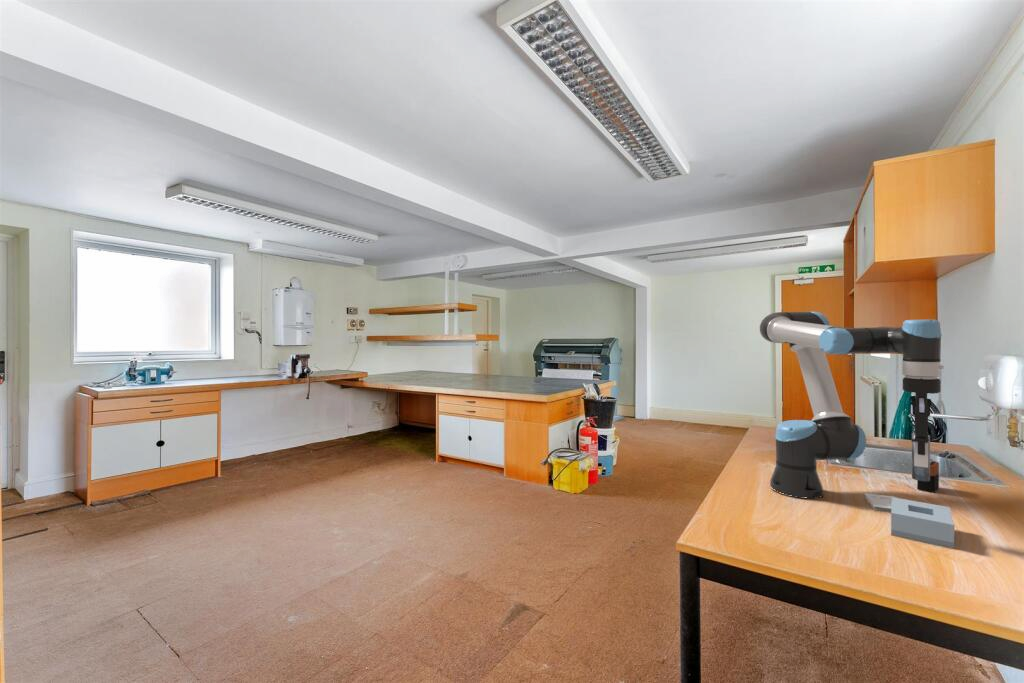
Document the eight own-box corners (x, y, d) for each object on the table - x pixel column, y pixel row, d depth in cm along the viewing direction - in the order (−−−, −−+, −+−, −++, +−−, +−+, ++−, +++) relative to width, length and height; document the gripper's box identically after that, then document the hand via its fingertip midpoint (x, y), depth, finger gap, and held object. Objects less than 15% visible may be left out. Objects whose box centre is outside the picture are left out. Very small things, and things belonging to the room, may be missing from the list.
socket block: (891, 535, 120) (891, 512, 120) (891, 517, 131) (891, 497, 131) (954, 548, 112) (954, 524, 112) (949, 529, 123) (949, 507, 123)
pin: (912, 479, 121) (912, 434, 121) (911, 476, 124) (911, 432, 123) (930, 482, 119) (930, 436, 118) (929, 478, 121) (929, 434, 121)
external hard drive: (873, 511, 137) (864, 497, 148) (908, 516, 133) (896, 501, 144) (873, 506, 137) (864, 492, 148) (908, 510, 133) (896, 496, 144)
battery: (916, 489, 152) (917, 460, 152) (922, 485, 156) (922, 456, 156) (934, 493, 149) (934, 463, 148) (939, 488, 153) (939, 459, 152)
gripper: (942, 381, 112) (942, 475, 112) (938, 375, 124) (938, 459, 125) (902, 379, 117) (902, 469, 117) (902, 373, 129) (902, 455, 130)
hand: (920, 464), depth 121 cm, fingers closed on pin, 3 cm apart
